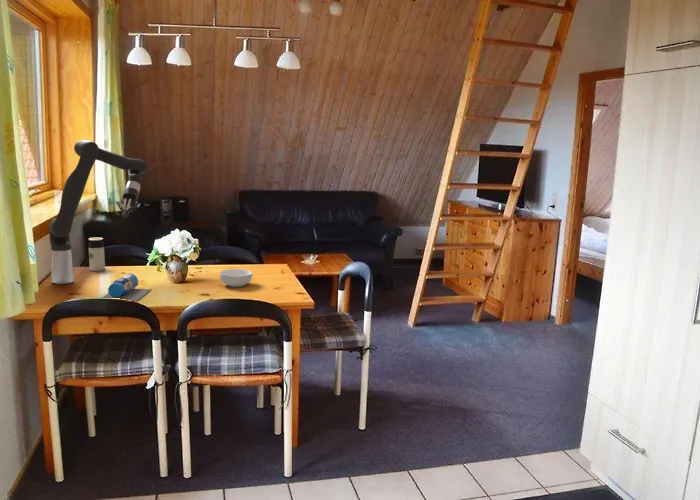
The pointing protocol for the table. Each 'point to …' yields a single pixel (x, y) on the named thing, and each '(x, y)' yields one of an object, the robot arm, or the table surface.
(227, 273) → the cereal bowl
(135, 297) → the mat
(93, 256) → the travel mug
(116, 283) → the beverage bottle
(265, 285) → the table surface
